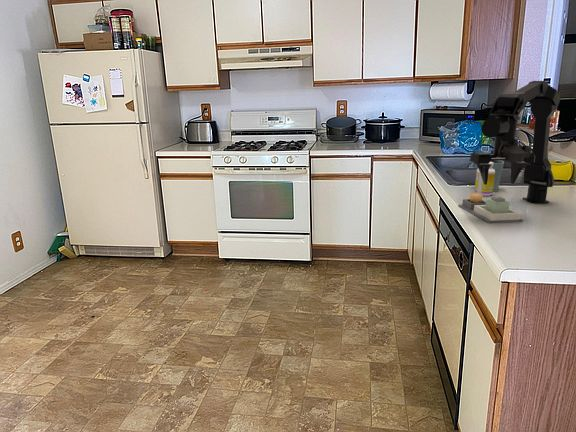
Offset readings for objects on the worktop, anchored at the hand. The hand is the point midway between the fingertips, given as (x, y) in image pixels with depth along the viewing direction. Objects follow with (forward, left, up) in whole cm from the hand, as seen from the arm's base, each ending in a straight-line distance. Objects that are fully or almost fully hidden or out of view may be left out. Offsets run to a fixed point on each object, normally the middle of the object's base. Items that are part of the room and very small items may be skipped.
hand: (498, 184), depth 143 cm
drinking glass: (-37, +18, -11) cm, 43 cm away
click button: (-9, -2, -9) cm, 13 cm away
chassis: (-3, 0, -11) cm, 11 cm away
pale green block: (+1, 0, -10) cm, 10 cm away
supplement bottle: (-29, +12, -11) cm, 34 cm away
